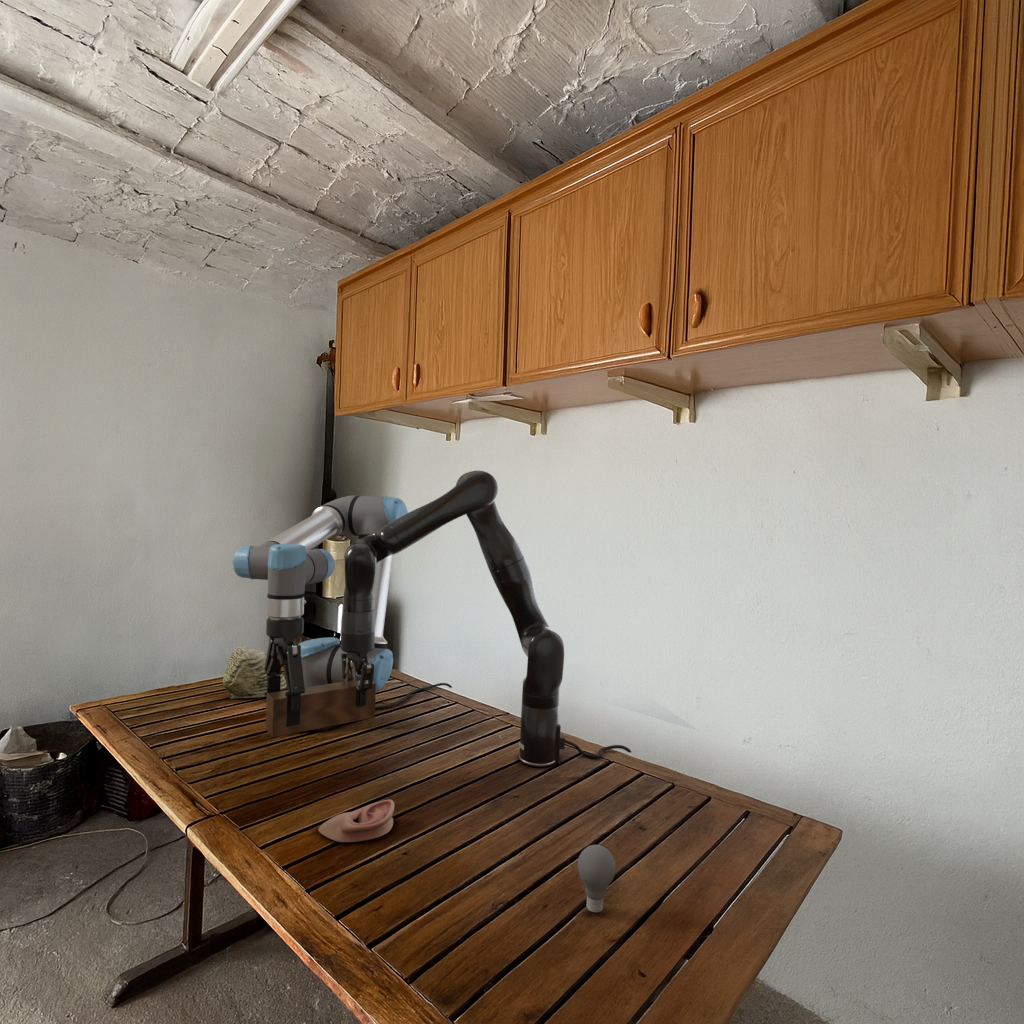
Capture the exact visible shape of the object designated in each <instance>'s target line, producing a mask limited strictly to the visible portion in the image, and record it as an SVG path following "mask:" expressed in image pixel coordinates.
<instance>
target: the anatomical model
mask: <svg viewBox="0 0 1024 1024" xmlns="http://www.w3.org/2000/svg"><path fill="white" fill-rule="evenodd" d="M394 812H395V801H394V800H392V799H384V800H380V801H377V802H373V803H370V804H368V805H365V806H363V807H360V808H357V809H355V810H353V811H348V812H343V813H340V814H337V815H334V816H333V817H331V818H330V819H328V820H326V821H325V822H323V823H322V824H321V825H320V826H319V827H318V829H317V830H318V832H319V834H321V835H322V836H324V837H325V838H328V839H330V840H332V841H334V842H337V843H355V842H363V841H370V840H374V839H376V838H380V837H382V836H384V835H386V834H388V833H389V832H390V831H391V830H392V828H393V826H394V818H393V815H394Z"/></svg>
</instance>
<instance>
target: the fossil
mask: <svg viewBox="0 0 1024 1024" xmlns="http://www.w3.org/2000/svg"><path fill="white" fill-rule="evenodd" d="M266 656H267V652H265V650H264V649H263V648H260V647H258V648H251V647H247V646H246V647H245V646H238V647H237V648H236V649H235V650H233V651H232V653H231V656H230V657H229V659H228V660H227V663H226V666H225V668H224V671H223V675H222V676H223V677H222V685H223V687H224V688H225V690H226V691H228V693H229V698H230V699H250V698H264V697H267V677H269V676H267V674H266V672H267V671H265V670H264V667H265V662H266ZM277 676H281V684H280V691H286V690H287V684H286V679H285V675H284V674H283V673H282V674H280V675H277Z"/></svg>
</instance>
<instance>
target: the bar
mask: <svg viewBox="0 0 1024 1024" xmlns="http://www.w3.org/2000/svg"><path fill="white" fill-rule="evenodd" d="M359 681H360V680H359ZM356 691H357V690H356V682H355V681H354V680H352V681H345V682H338V683H332V684H325V685H319V686H312V687H306V688H305V693H302V694H301V699H300V724H299V725H294V726H288V727H286V726H285V721H286V696H285V693H286V692H288V689H286V690H285V691H279V692H273V693H267V696H266V702H265V703H266V707H265V708H266V710H265V730H266V732H267V733H268V734H269V735H270V736H271V738H276V737H281V736H286V735H291V734H297V733H303V732H302V731H307V730H313V729H318V728H323V727H328V726H333V725H339V724H340V725H343V724H344V725H345V724H349V723H354V722H358V721H359V722H360V721H364V720H370V719H374V718H376V709H375V706H376V693H377V692H376V683H374V682H372V688H371V689H367V696H366V706H363V707H357V706H356ZM340 725H339V726H340Z"/></svg>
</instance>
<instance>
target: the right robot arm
mask: <svg viewBox="0 0 1024 1024" xmlns="http://www.w3.org/2000/svg"><path fill="white" fill-rule="evenodd" d="M498 493H499V485H498V482H497V480H496V478H495V477H494V476H493V475H492V474H491V473H490V472H488V471H484V470H479V469H478V470H470V471H468V472H465V473H463V474H462V475H461V476H459V478H458V479H457V481H456V483H455V486H453V487H452V488H451V489H450V490H448V491H447V492H446V493H444V494H443V495H441V496H439V497H438V498H436V499H434V500H432V501H430V502H428V503H426V504H424V505H422V506H419V507H417V508H415V509H413V510H411V511H408V513H407V514H405V515H403V516H401V517H399V518H398V519H396V520H394V521H393V522H391V523H389V524H387V525H386V526H384V527H383V528H381V529H380V530H378V531H377V532H374V533H372V534H370V535H368V536H366V537H364V538H362V539H360V540H358V539H357V540H356V541H354V542H353V543H351V544H350V545H348V546H347V548H346V549H345V551H344V555H343V560H344V588H343V595H342V615H341V621H340V623H341V625H340V645H341V650H342V651H344V652H347V653H342V654H341V661H342V677H343V679H345V681H352V680H354V681H355V682H356V690H357V691H356V706H357V707H363V706H366V696H367V689H371V688H372V681H373V674H374V664H369V660H368V652H369V651H372V650H373V649H374V640H375V614H374V600H375V594H374V583H375V574H376V563H378V562H379V561H381V560H383V559H384V558H386V557H388V556H390V555H397V554H398V553H401V552H402V551H404V550H406V549H408V548H409V547H411V546H413V545H415V544H417V542H419V541H421V540H423V539H424V538H427V536H429V535H430V534H432V533H434V532H435V531H437V530H438V529H440V528H442V527H444V526H445V525H447V524H449V523H451V522H453V521H454V520H457V519H459V518H461V517H463V516H466V517H467V519H468V520H469V522H470V524H471V526H472V528H473V530H474V532H475V535H476V538H477V541H478V544H479V546H480V550H481V553H482V555H483V558H484V560H485V564H486V566H487V568H488V571H489V573H490V575H491V577H492V580H493V583H494V584H495V586H496V588H497V590H498V593H499V595H500V596H501V598H502V600H503V602H504V604H505V606H506V608H507V609H508V611H509V613H510V616H511V617H512V621H513V623H514V626H515V628H516V632H517V636H518V640H519V642H520V645H521V649H522V651H523V653H524V655H525V656H526V657H527V665H526V675H525V677H524V678H523V680H522V690H521V692H522V694H521V710H520V713H521V714H520V735H519V741H518V747H519V751H518V752H519V754H518V759H519V762H520V763H521V764H522V765H524V766H525V765H526V766H528V767H532V768H533V767H534V768H548V767H551V766H554V765H555V764H560V754H561V753H560V750H561V751H562V750H565V749H566V745H570V746H571V747H573V748H574V749H576V750H577V752H578V753H579V754H581V755H582V756H583V757H587V758H590V759H601V758H602V757H603V752H606V751H609V750H615V749H621V750H624V751H626V752H627V753H631V754H632V750H631V749H630V748H629V747H627V746H625V745H623V744H622V745H621V744H612V745H608V746H605V747H601V748H600V749H599V750H598V754H591V753H587V752H585V751H583V750H582V749H581V748H580V746H579V745H578V744H576V743H575V742H572V741H571V740H567V739H566V737H565V736H564V735H562V733H561V730H562V726H561V724H560V723H559V713H560V712H559V710H560V709H559V708H560V689H561V685H562V683H563V678H564V667H565V651H566V650H565V642H564V640H563V638H562V636H561V635H560V634H559V633H558V632H556V631H555V630H554V629H552V627H550V625H549V624H548V622H547V620H546V618H545V616H544V614H543V612H542V610H541V608H540V606H539V603H538V601H537V596H536V590H535V584H534V579H533V576H532V572H531V569H530V567H529V564H528V562H527V560H526V557H525V555H524V553H523V551H522V549H521V547H520V546H519V543H518V542H517V540H516V539H515V537H514V536H513V535H512V533H511V532H510V530H509V529H508V527H507V526H506V525H505V523H504V521H503V520H502V518H501V515H500V513H499V510H498V508H497V507H498V506H497V505H496V501H495V500H496V499H497V496H498ZM358 675H361V676H358ZM359 680H360V681H359ZM565 744H566V745H565Z"/></svg>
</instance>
